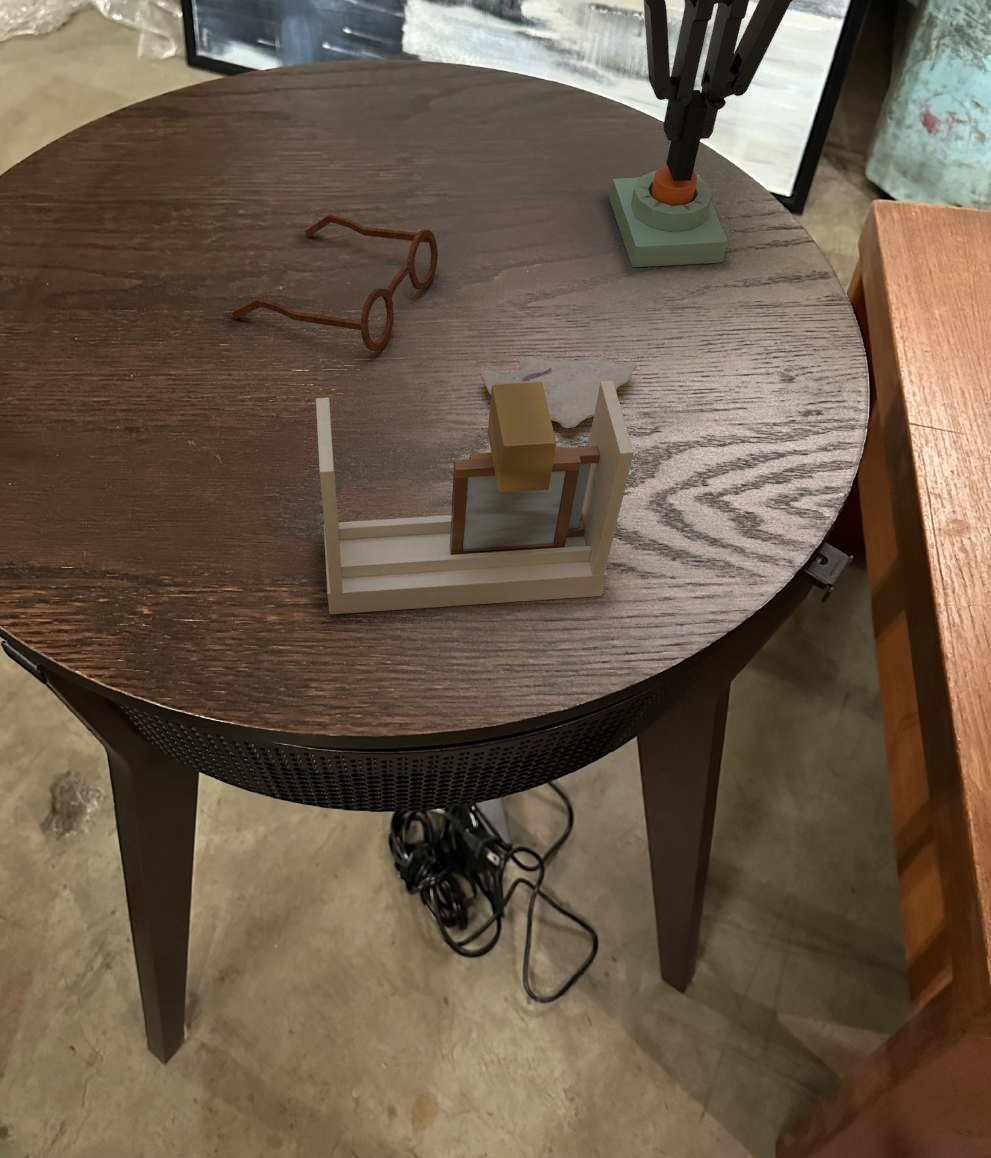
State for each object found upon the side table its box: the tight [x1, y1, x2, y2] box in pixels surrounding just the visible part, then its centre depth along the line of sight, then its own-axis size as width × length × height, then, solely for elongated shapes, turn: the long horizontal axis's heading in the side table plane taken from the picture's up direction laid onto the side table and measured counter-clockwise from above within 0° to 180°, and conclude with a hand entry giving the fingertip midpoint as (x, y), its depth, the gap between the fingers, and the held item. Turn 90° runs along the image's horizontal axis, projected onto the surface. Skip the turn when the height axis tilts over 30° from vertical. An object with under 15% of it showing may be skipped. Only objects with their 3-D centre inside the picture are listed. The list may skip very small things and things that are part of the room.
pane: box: [449, 382, 581, 555], centre depth 68 cm, size 8×5×13 cm, turn 95°
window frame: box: [315, 381, 635, 615], centre depth 70 cm, size 18×6×14 cm, turn 95°
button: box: [651, 165, 697, 206], centre depth 95 cm, size 4×4×2 cm
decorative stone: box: [480, 356, 638, 429], centre depth 85 cm, size 8×12×3 cm
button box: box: [609, 169, 729, 268], centre depth 97 cm, size 8×10×4 cm
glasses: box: [231, 214, 439, 352], centre depth 91 cm, size 13×13×5 cm
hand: (678, 171), depth 94 cm, fingers closed
